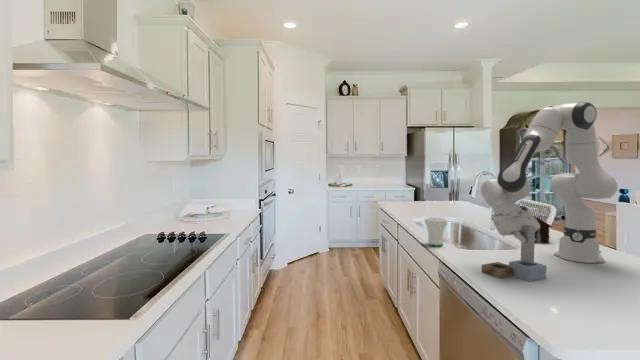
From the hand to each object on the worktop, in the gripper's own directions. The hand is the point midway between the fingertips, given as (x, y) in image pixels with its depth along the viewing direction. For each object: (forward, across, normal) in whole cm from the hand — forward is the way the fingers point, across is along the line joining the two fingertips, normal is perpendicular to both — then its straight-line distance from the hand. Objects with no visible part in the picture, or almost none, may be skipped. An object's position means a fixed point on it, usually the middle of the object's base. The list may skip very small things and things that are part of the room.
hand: (529, 241), depth 139 cm
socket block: (+5, -7, +15) cm, 17 cm away
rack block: (+9, 0, +10) cm, 14 cm away
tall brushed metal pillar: (+5, 0, +6) cm, 8 cm away
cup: (-28, +1, +48) cm, 56 cm away
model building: (-20, +60, +40) cm, 75 cm away
